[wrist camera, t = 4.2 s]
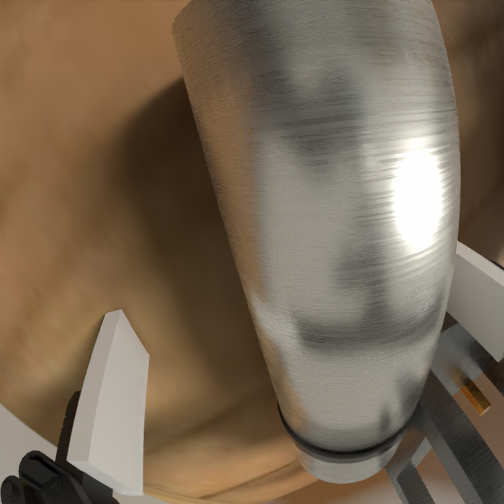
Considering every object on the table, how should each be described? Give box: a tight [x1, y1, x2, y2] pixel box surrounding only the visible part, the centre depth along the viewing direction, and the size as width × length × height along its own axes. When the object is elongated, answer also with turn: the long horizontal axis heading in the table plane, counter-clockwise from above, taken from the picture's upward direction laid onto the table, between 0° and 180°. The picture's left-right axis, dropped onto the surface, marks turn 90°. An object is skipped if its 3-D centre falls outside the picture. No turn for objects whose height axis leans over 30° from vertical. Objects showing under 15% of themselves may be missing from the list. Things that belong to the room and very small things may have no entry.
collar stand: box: [384, 311, 504, 504], centre depth 12 cm, size 12×15×12 cm
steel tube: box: [172, 0, 461, 483], centre depth 9 cm, size 18×6×6 cm
